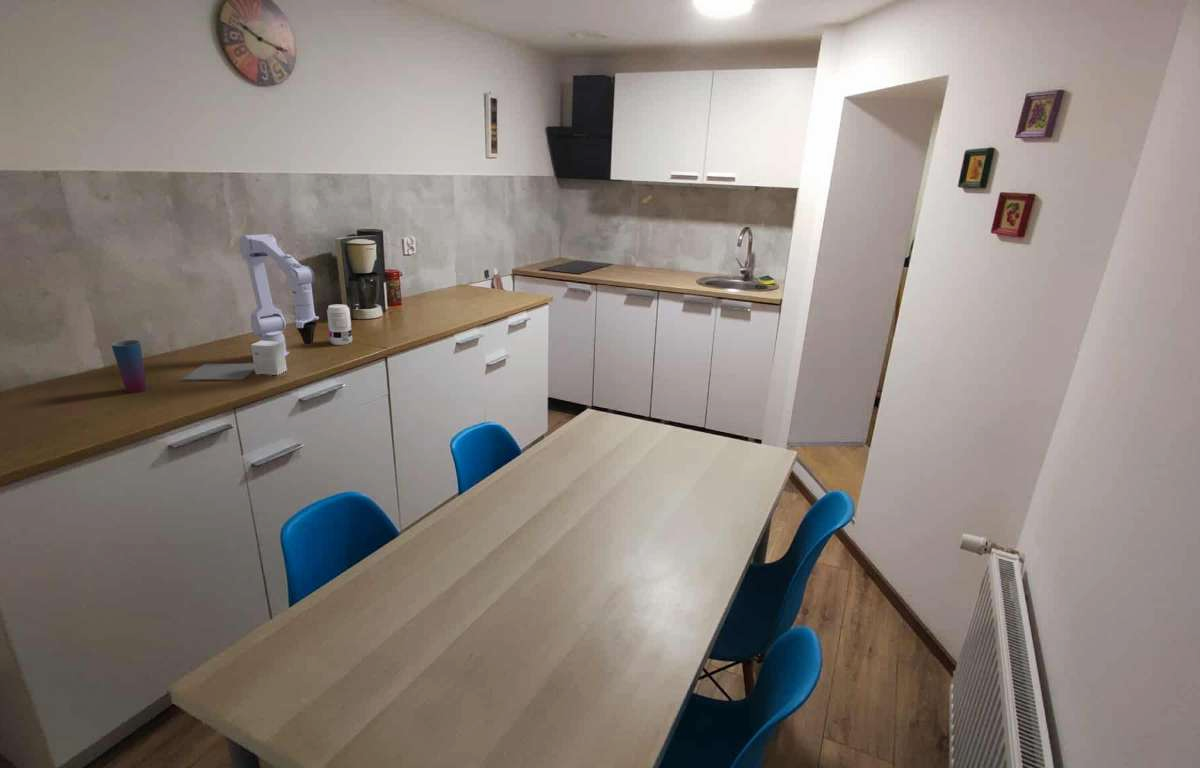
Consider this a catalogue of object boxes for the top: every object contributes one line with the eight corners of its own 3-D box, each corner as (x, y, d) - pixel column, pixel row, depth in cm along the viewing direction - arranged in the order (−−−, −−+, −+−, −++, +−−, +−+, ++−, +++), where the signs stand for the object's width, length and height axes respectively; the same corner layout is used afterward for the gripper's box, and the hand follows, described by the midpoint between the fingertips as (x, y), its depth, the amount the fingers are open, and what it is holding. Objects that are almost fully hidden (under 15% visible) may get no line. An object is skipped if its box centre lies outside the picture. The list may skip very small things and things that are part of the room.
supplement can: (325, 343, 235) (321, 306, 230) (341, 338, 242) (338, 302, 237) (341, 346, 232) (337, 309, 227) (357, 341, 240) (353, 305, 234)
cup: (128, 395, 176) (117, 347, 171) (118, 390, 179) (106, 343, 174) (154, 389, 181) (144, 342, 176) (144, 384, 185) (133, 338, 180)
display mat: (204, 365, 204) (204, 363, 204) (261, 365, 207) (260, 363, 207) (181, 380, 189) (181, 379, 189) (242, 380, 192) (242, 378, 192)
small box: (287, 371, 203) (283, 341, 199) (277, 376, 198) (273, 346, 194) (265, 369, 204) (261, 339, 200) (255, 374, 198) (250, 344, 195)
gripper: (310, 309, 189) (315, 349, 193) (322, 299, 202) (327, 337, 207) (286, 308, 187) (292, 349, 192) (300, 299, 201) (305, 337, 206)
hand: (308, 343), depth 199 cm, fingers closed
